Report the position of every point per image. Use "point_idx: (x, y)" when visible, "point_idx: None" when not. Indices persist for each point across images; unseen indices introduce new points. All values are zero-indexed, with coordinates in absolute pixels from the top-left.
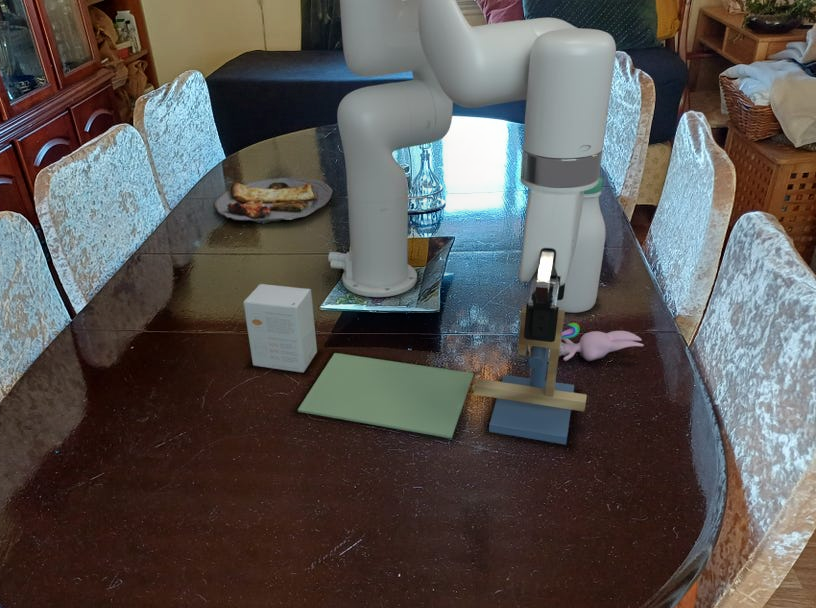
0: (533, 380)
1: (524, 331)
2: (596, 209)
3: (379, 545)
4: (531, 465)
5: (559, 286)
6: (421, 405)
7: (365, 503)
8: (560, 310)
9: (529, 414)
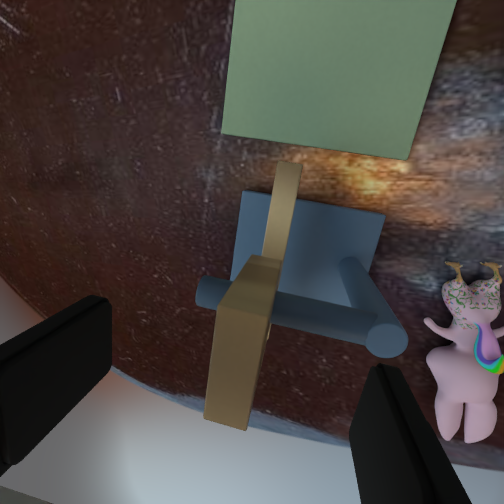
0: (343, 264)
1: (76, 303)
2: None
3: (19, 60)
4: (187, 242)
5: (362, 478)
6: (297, 67)
7: (71, 21)
8: (244, 421)
9: None
